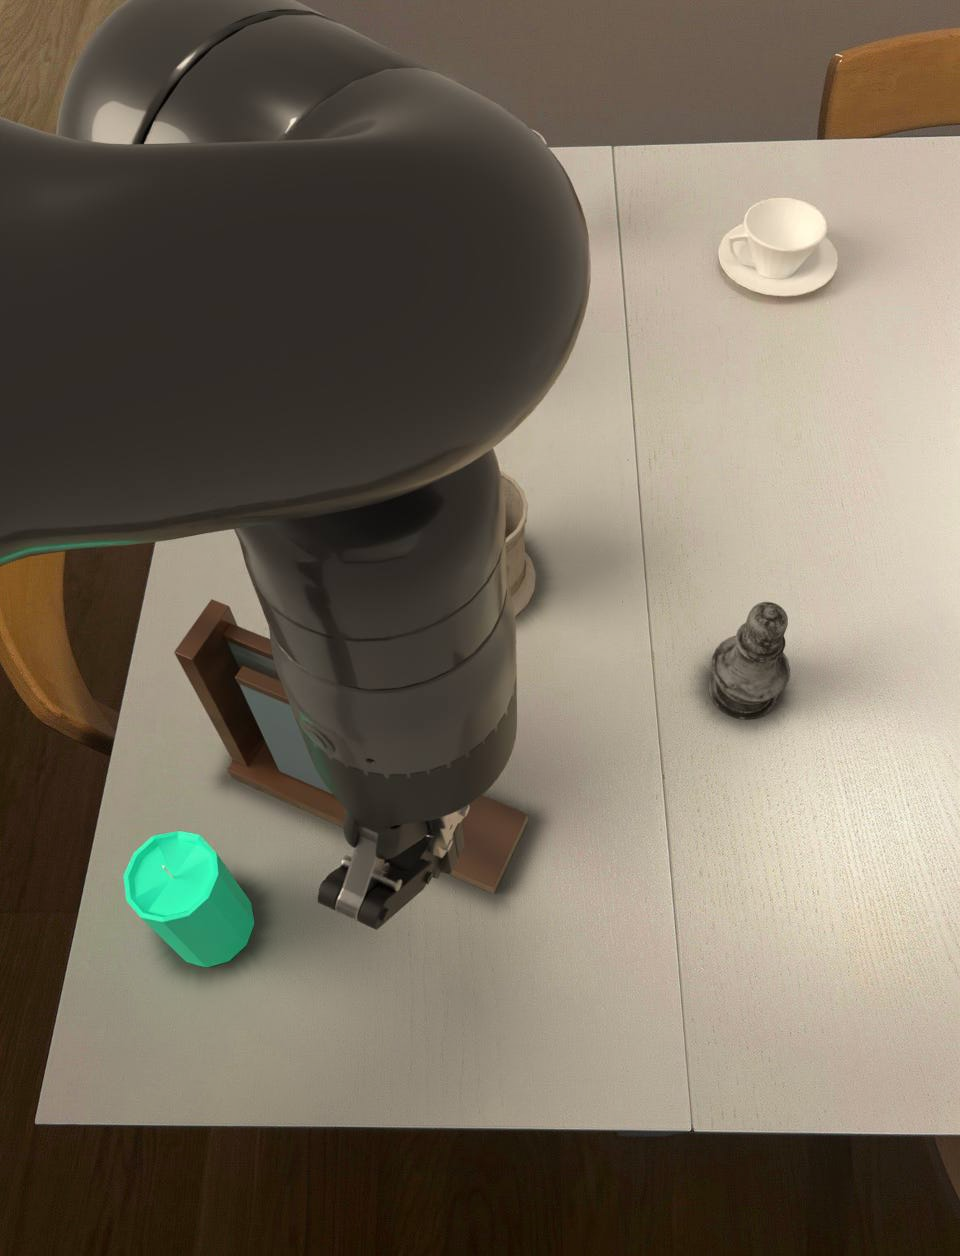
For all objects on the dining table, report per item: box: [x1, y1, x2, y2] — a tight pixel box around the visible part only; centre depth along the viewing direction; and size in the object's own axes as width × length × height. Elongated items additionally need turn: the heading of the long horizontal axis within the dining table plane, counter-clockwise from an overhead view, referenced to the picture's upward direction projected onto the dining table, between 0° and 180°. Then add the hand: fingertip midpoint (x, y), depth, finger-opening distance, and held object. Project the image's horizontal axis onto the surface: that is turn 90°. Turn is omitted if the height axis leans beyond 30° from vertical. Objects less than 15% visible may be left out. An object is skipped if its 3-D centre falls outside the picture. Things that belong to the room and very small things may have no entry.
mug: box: [500, 470, 537, 617], centre depth 86 cm, size 14×10×12 cm
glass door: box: [235, 666, 332, 794], centre depth 72 cm, size 1×11×14 cm, turn 65°
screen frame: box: [173, 598, 528, 895], centre depth 72 cm, size 6×22×18 cm, turn 65°
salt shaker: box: [708, 601, 791, 720], centre depth 78 cm, size 6×6×12 cm
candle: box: [123, 830, 255, 968], centre depth 70 cm, size 6×6×12 cm
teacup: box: [717, 197, 839, 298], centre depth 107 cm, size 12×12×5 cm
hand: (437, 852), depth 49 cm, fingers closed
